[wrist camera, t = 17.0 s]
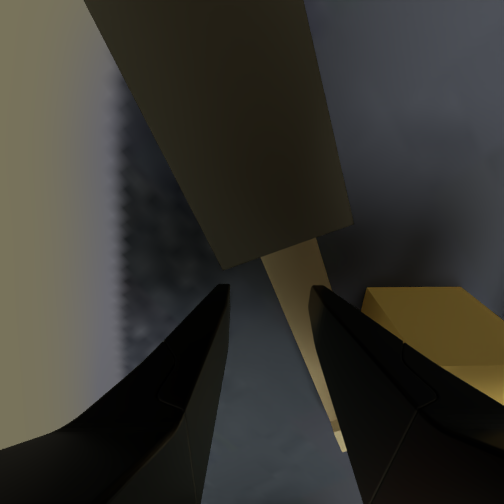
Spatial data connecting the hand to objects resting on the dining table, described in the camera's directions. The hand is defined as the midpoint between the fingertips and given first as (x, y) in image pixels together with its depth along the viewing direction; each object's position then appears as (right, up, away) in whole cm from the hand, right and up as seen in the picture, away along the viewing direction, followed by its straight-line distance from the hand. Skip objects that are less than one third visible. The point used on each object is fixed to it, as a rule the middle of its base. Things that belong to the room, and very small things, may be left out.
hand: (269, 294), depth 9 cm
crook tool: (+3, +1, +2) cm, 4 cm away
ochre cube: (+7, -2, +4) cm, 8 cm away
